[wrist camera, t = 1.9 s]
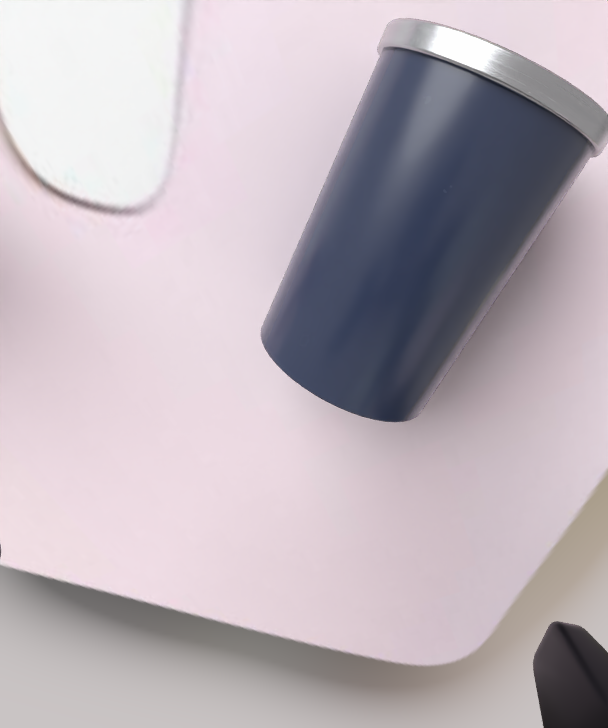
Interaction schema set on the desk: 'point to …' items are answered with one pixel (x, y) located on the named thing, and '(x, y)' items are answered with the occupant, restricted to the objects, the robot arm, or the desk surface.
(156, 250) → the desk surface
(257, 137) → the desk surface
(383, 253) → the navy blue tumbler
